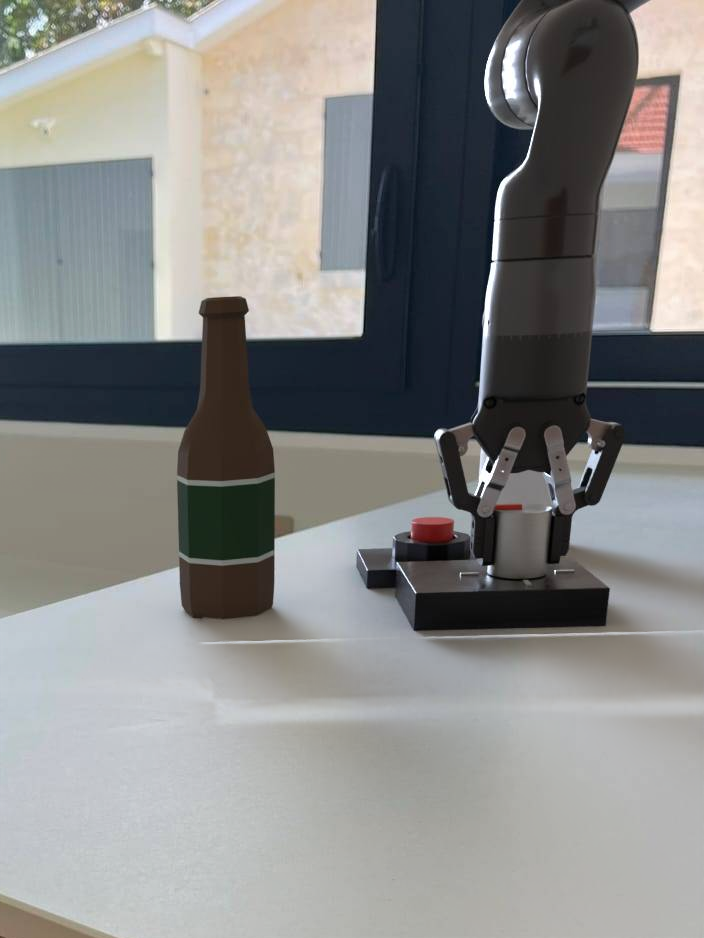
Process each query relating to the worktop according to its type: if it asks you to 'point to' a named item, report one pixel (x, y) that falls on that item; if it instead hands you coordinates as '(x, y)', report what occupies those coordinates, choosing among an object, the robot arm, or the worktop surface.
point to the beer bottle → (225, 480)
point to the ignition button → (432, 529)
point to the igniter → (408, 557)
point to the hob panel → (498, 597)
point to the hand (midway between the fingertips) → (518, 561)
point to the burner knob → (521, 540)
